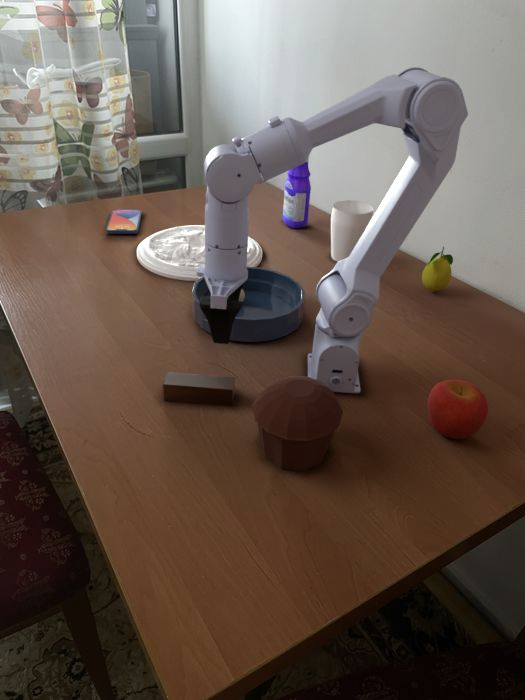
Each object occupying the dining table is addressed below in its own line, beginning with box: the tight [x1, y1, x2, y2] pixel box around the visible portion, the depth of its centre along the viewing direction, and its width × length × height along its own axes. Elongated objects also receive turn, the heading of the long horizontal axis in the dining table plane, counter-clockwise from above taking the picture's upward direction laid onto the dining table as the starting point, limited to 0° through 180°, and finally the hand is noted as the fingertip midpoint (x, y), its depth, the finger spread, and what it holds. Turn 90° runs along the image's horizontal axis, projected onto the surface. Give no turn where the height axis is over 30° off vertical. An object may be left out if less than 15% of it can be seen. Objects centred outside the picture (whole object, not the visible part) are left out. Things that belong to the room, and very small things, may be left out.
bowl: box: [191, 266, 306, 343], centre depth 100 cm, size 20×20×5 cm
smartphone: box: [105, 209, 143, 235], centre depth 135 cm, size 7×15×1 cm, turn 6°
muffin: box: [251, 375, 344, 472], centre depth 70 cm, size 12×11×10 cm
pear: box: [421, 246, 454, 293], centre depth 110 cm, size 7×6×10 cm
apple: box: [427, 379, 489, 440], centre depth 75 cm, size 8×8×8 cm
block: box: [162, 371, 236, 407], centre depth 80 cm, size 3×10×3 cm, turn 86°
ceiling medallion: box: [136, 224, 263, 282], centre depth 122 cm, size 28×28×3 cm
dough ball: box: [239, 289, 245, 302], centre depth 102 cm, size 4×4×4 cm
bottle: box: [282, 156, 312, 229], centre depth 136 cm, size 7×6×17 cm
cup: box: [330, 199, 374, 263], centre depth 122 cm, size 9×9×12 cm
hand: (224, 328), depth 80 cm, fingers open, 7 cm apart
